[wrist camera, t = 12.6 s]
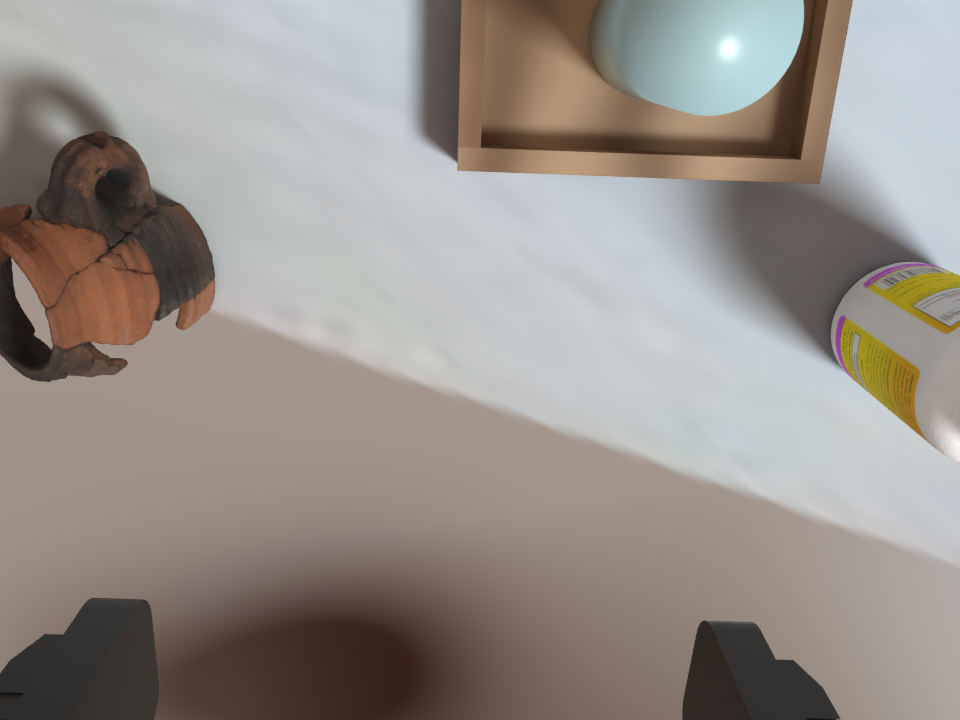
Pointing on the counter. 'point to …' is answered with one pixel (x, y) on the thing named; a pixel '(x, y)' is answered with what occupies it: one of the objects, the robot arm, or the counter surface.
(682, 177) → the tray
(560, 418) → the counter surface
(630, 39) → the pale green capsule
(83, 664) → the robot arm
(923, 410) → the supplement bottle
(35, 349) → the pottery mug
